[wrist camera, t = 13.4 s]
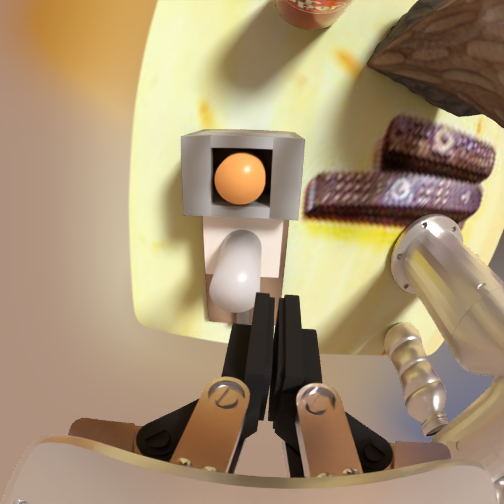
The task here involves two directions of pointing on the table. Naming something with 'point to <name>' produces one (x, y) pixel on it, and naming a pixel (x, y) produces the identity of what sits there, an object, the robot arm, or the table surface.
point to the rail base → (265, 206)
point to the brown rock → (449, 55)
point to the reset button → (241, 177)
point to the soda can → (311, 12)
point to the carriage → (240, 258)
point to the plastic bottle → (417, 378)
